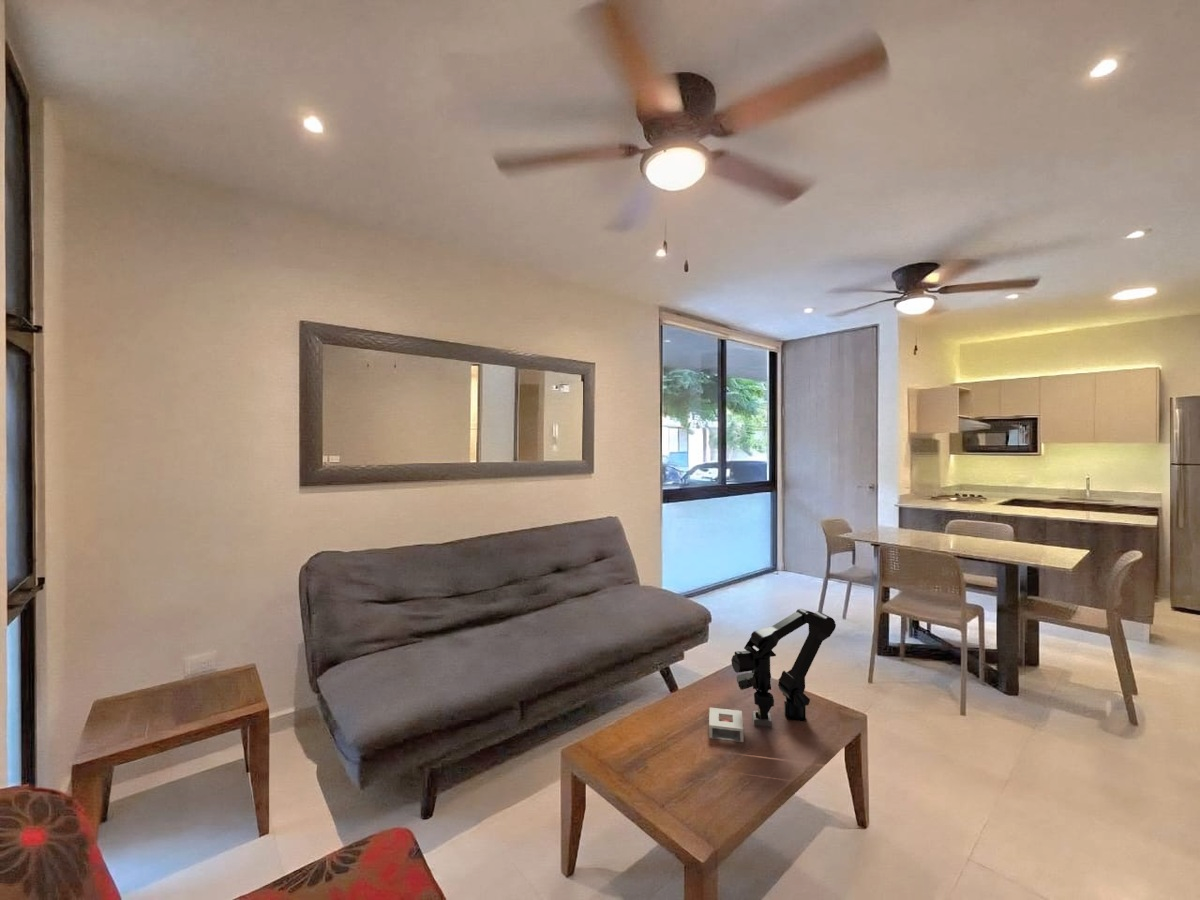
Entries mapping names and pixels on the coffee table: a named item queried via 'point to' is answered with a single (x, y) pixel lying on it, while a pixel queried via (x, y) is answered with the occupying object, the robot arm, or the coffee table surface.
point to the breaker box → (726, 725)
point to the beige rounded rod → (759, 714)
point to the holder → (762, 720)
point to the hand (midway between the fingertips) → (762, 712)
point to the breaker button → (725, 720)
